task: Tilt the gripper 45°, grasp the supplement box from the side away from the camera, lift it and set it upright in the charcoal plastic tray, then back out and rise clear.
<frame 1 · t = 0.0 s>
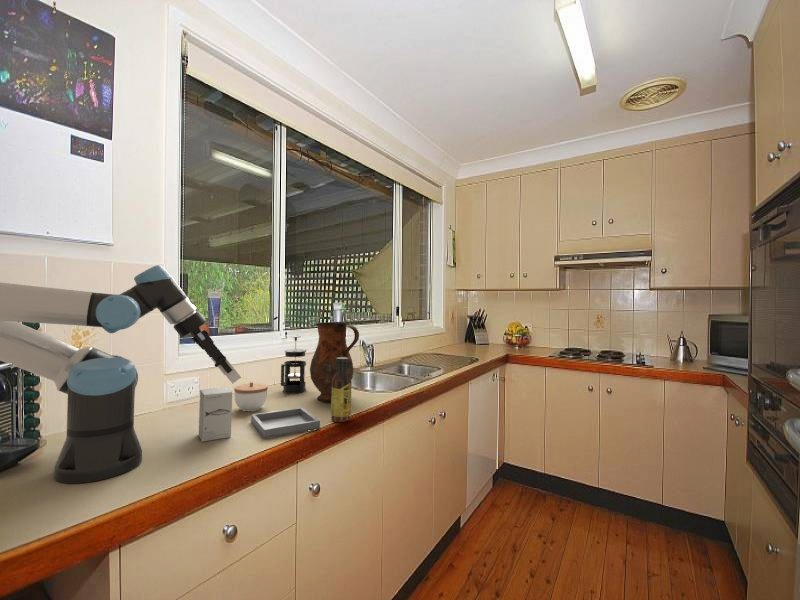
hand: (232, 376, 110), 15 cm above the table, tool tilted 35°, fingers open, 13 cm apart
supplement box: (214, 436, 104), on the table
french press: (293, 391, 157), on the table
tray: (284, 425, 113), on the table
lidded jar: (250, 409, 130), on the table
sauce bottle: (340, 420, 120), on the table
pitcher: (334, 400, 144), on the table
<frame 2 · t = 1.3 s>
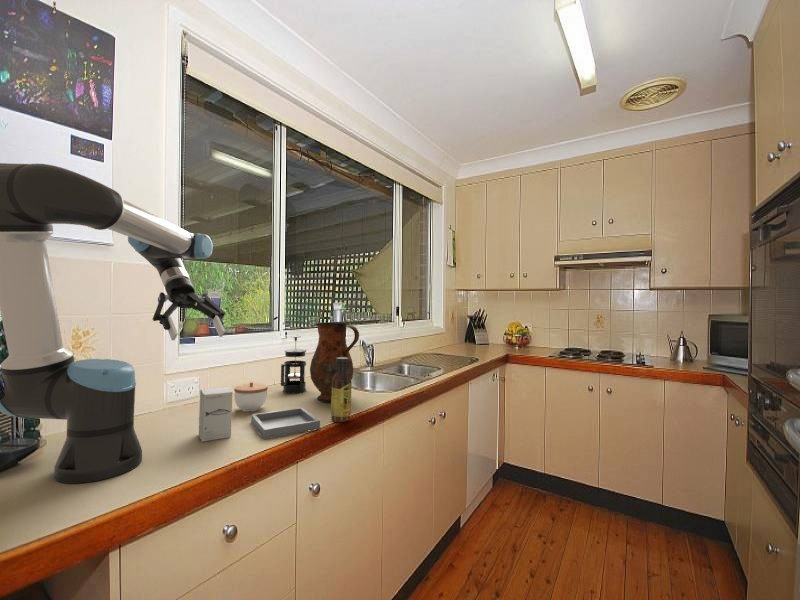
hand: (199, 335, 110), 27 cm above the table, tool tilted 45°, fingers open, 13 cm apart
nothing on the table moved.
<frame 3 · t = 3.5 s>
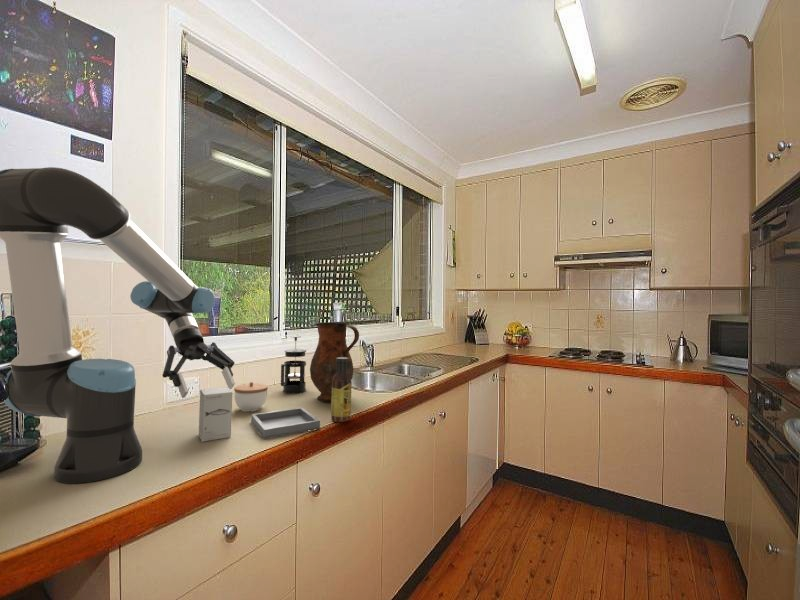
hand: (210, 390, 109), 11 cm above the table, tool tilted 45°, fingers open, 13 cm apart
nothing on the table moved.
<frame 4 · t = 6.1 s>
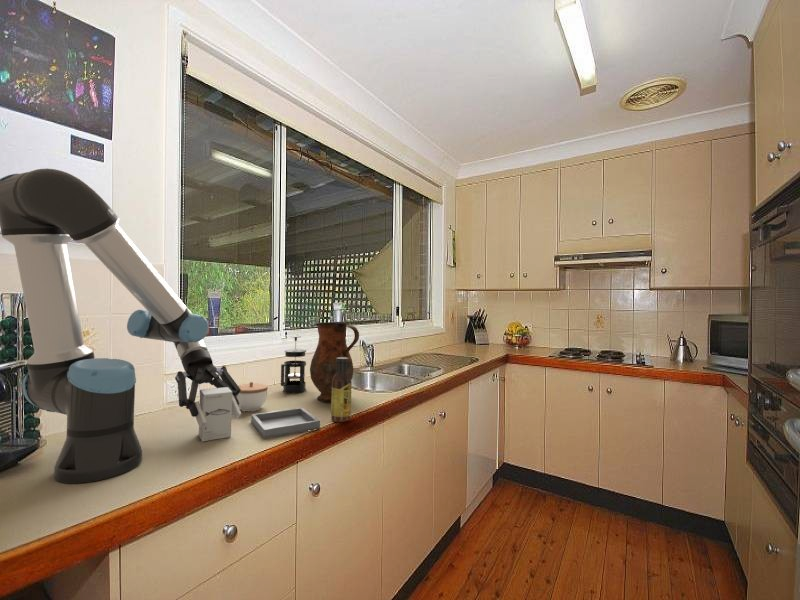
hand: (221, 420, 102), 5 cm above the table, tool tilted 45°, fingers closed on supplement box, 9 cm apart
supplement box: (214, 436, 104), on the table, touching gripper
everything else where it was.
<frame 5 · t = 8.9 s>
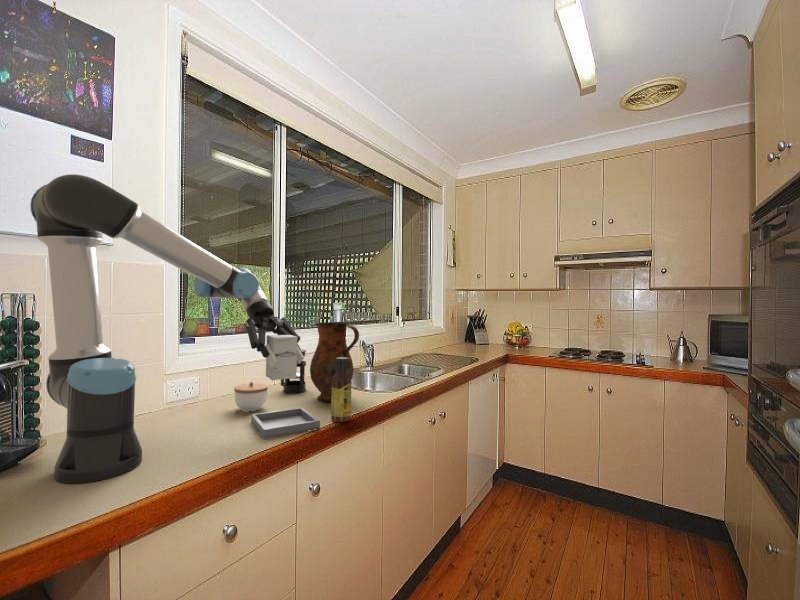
hand: (288, 362, 112), 19 cm above the table, tool tilted 45°, fingers closed on supplement box, 9 cm apart
supplement box: (281, 378, 113), point 14 cm above the table, touching gripper
everything else where it was.
when the fingers open (7 cm above the table, at t = 11.8 s): supplement box drops 1 cm, resting on tray.
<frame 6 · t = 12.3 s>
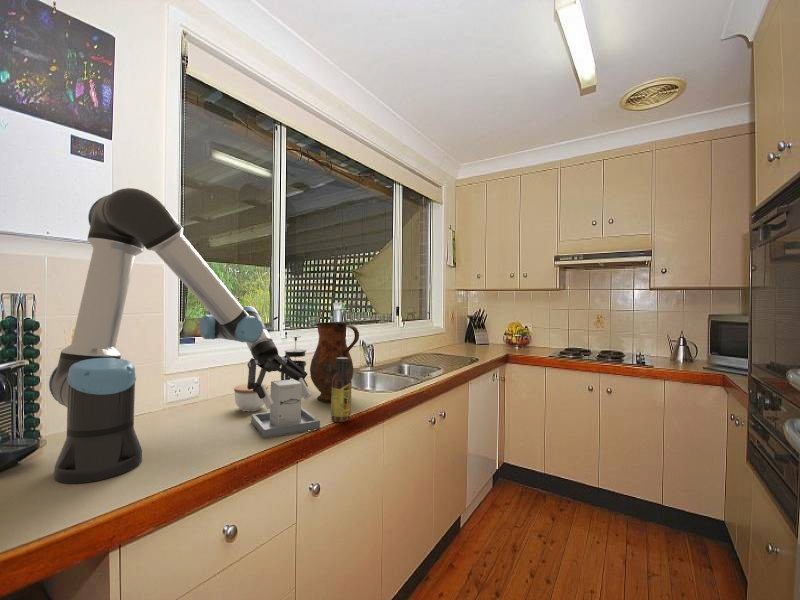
hand: (290, 401, 112), 8 cm above the table, tool tilted 45°, fingers open, 13 cm apart
supplement box: (285, 424, 114), resting on tray
everything else where it was.
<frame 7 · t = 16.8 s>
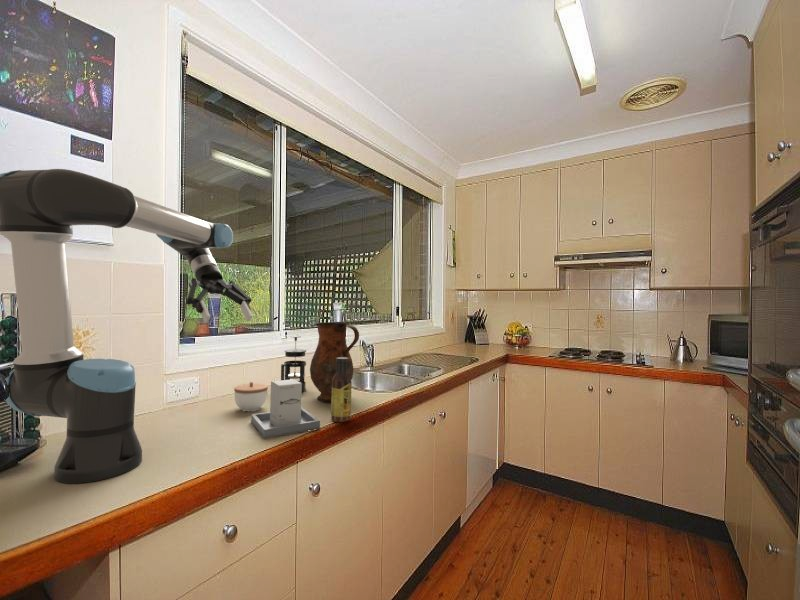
hand: (229, 319, 116), 32 cm above the table, tool tilted 45°, fingers open, 13 cm apart
nothing on the table moved.
at the end: supplement box inside the target area on the tray (0.3 cm from its centre), point 0.4 cm above the tray's base; supplement box tilted 0°; the gripper is holding nothing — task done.
